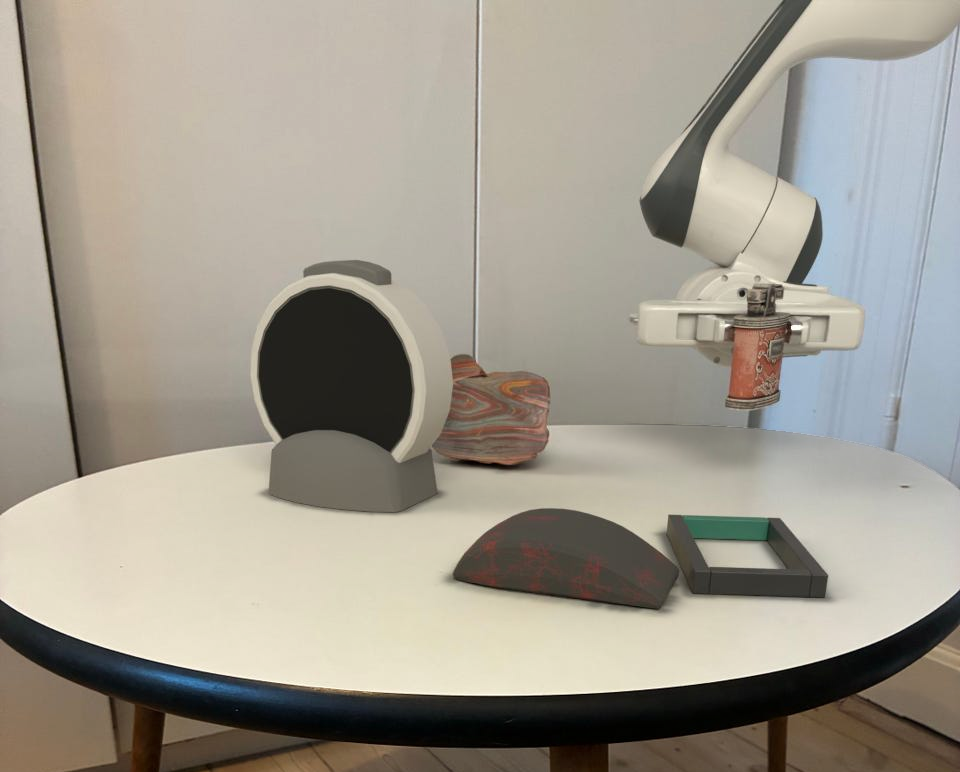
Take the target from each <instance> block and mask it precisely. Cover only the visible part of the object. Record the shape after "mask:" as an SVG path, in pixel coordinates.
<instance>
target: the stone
mask: <svg viewBox="0 0 960 772" xmlns="http://www.w3.org/2000/svg"><path fill="white" fill-rule="evenodd" d="M450 359H451V369H452V378H453V389H452V397H451V405H450V411H449V414H448V416H447V419H446V421H445V424H444V426H443V429H442V432H441V434H440V435H439V437H438V438H437V439H436V441H435V442H434V443H433V445H432V446H431V448H433V449H434V450H435V452H436V453H438V454H439V455H441V456H442V457H445V458H448V459H452V460H459V461H473V462H479V463H480V464H481V463H482V464H493V463H495V464H499V465H505V466H513V465H518V464H522V463H525V462H527V461H532V460H534V459H536V458H537V456H538V454H540V453H542V452H543V451H544V450H545V449H546V447H547V445H548V443H549V438H550V430H549V429H548V426H547V424H548V416H549V412H550V409H549V408H550V404H551V388H550V384H549V381H548V380H547V379H546V378H545V377H543V376H541V375H539V374H537V373H534V372H530V371H525V370H518V371H492V372H490V373H487V372H486V371H485V370H484V369H483V367H482V366H481V365H479V363H477V359H476V358H475V357H473V356H472V355H471V354H468V353H458V354H455V355H453V356H452V357H450Z"/></svg>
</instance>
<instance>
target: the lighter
mask: <svg viewBox="0 0 960 772" xmlns="http://www.w3.org/2000/svg"><path fill="white" fill-rule="evenodd" d="M782 285H783V284H762V283H754V285H753V287H752V289H749V290H748V292H747V302H748V304H747V308H748V310H747V313H746V314H741V315H737V316H734V325H733V326H735V327H736V328H735V338H734V348H733V357H732V367H730V368H731V369H730V377H729V387H728V394H727V395H726V396H725V403H724V408H725V409H726V410H727V409H728V410H734V411H744V412H746V411H747V412H748V411H749V412H751V411H756V410H762V409H765V408H769V407H772V406H774V405H776V404H777V403H778V402H780V401H781V400H780V398H781V389H780V381H781V371H782V365H783V358H782V357H783V349H784V341H785V333H786V324H787V321H789V319H790V313H785V312H776V304H775V301H776V300H781V299H783V296H784V287H782Z"/></svg>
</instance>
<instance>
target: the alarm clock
mask: <svg viewBox="0 0 960 772" xmlns="http://www.w3.org/2000/svg"><path fill="white" fill-rule="evenodd" d="M302 273H303V275H302V276H303V278H301V279H299V280H297V281H295V282H293V283H291V284H289V285H286V287H284V289H282V291H281V292H279V293H278V294H277V295H276V296H275V297H274V298H273V299H272V300H271V301H270V302H269V304H268V305H267V307H266V309H265V311H264V313H263V314H262V316H261V318H260V320H259V321H258V323H257V325H256V330H255V334H254V337H253V339H252V340H253V341H252V345H251V348H250V367H249V368H250V369H249V371H250V372H249V376H250V382H251V383H250V384H251V388H252V389H251V390H252V394H253V400H254V403H255V406H256V409H257V411H258V414H259V416H260V420H261V422H262V424H263V427H264V428H265V430H266V432H267V433H268V434H269V436H270V438H271V439H272V441H273V443H274V444H275V445H274V447H273V448H272V449H271V454H270V465H269V467H270V468H269V483H268V495H271V496H273V497H275V498H278V499H281V500H285V501H289V502H294V503H298V504H302V505H303V504H304V505H306V506H307V505H308V506H313V507H318V508H319V507H320V508H327V509H335V510H343V511H357V512H369V513H370V512H371V513H398V512H402V511H404V510H406V509H408V508H411V507H412V506H414V505H416V504H419V503H421V502H423V501H425V500H427V499H429V498H432V497H434V496H436V495H438V488H437V480H436V471H435V465H434V457H433V450H432V449H431V448H432V445H433V443H434V442H435V441H436V439H437V438H438V437H439V435H440V434H441V432H442V429H443V426H444V424H445V421H446V419H447V416H448V414H449V411H450V405H451V397H452V389H453V378H452V369H451V354H450V352H449V351H450V350H449V347H448V346H447V343H446V339H445V337H444V334H443V331H442V329H441V327H440V325H439V324H438V322H437V321H436V319H435V317H434V316H433V314H432V313H431V311H430V309H429V308H428V306H427V305H426V304H425V303H424V302H423V301H421V299H420V298H418V296H416V294H414V293H413V292H412V291H411V290H410V289H409V288H408V287H406V286H405V285H403V284H401V283H400V282H397V281H395V280H394V279H392V272H391V271H390V270H389V269H387V268H385V267H383V266H382V265H380V264H377V263H373V262H370V261H365V260H359V259H351V260H350V259H349V260H348V259H347V260H346V259H345V260H330V261H329V260H328V261H322V262H318V263H313V264H312V265H311V264H310V265H309V266H307V267H305V268H304V269H303V271H302Z"/></svg>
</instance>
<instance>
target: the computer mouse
mask: <svg viewBox="0 0 960 772" xmlns="http://www.w3.org/2000/svg"><path fill="white" fill-rule="evenodd" d="M679 575H680V569H679V567H678V566H677V565H676V564H675V563H674V562H673V561H671V560H670V559H669V558H668V557H667V556H666V555H664V554H663V553H662V552H661V551H659V550H658V549H657V548H656V547H654V546H653V545H651V544H650V543H649V542H647V541H646V540H645V539H643V538H642V537H641V536H639V535H637V534H636V533H634V532H633V531H632V530H630V529H628V528H626V526H625V527H624V526H623V525H621V524H618V523H616V522H615V521H612V520H610V519H606V518H604V517H601V516H599V515H594V514H591V513H588V512H583V511H579V510H576V509H568V508H556V507H555V508H554V507H548V508H547V507H546V508H545V507H544V508H543V507H541V508H535V509H534V508H533V509H529V510H525V511H521V512H519V513H516V514H514V515H512V516H510V517H508V518H505V519H503V520H502V521H501V522H499V523H497V524H495V525H494V526H492V527H491V528H489V529H488V530H487V531H485V532H484V533H482V535H481V536H479V537H478V539H476V540H475V541H474V543H472V545H470V546H469V548H467V550H466V551H465V552H464V553H463V555H462V556H461V557H460V559H459V560H458V562H457V564H456V566H455V567H454V569H453V572H452V576H453V578H455V579H457V580H459V581H463V582H467V583H471V584H472V583H474V584H477V585H482V586H486V587H491V588H498V589H502V590H510V591H516V592H517V591H518V592H524V593H533V594H541V595H548V596H555V597H563V598H570V599H579V600H586V601H592V602H600V603H601V602H602V603H609V604H610V603H611V604H618V605H627V606H635V607H642V608H647V609H648V608H649V609H655V610H657V609H660V608H662V606H663V605H664V603H665V601H666V599H667V597H668V595H669V593H670V592H671V590H672V588H673V586H674V585H675V583H676V581H677V580H678V578H679Z"/></svg>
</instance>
